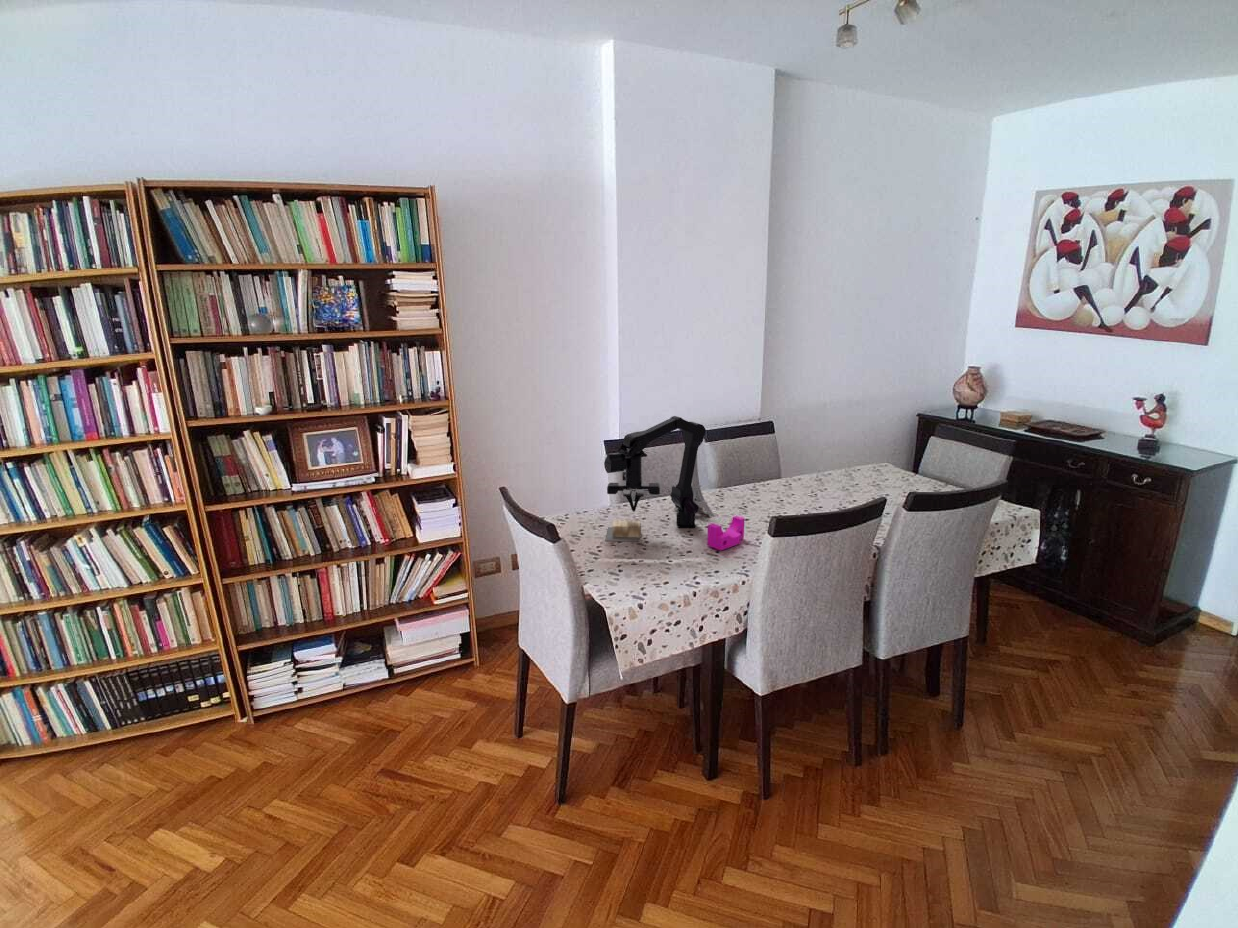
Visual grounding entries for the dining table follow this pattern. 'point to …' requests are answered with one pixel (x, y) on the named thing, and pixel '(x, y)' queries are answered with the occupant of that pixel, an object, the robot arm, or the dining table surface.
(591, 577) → the dining table surface
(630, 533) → the oak block
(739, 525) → the toy block
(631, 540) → the placemat
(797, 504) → the dining table surface
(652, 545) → the dining table surface
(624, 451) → the robot arm
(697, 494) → the eiffel tower
